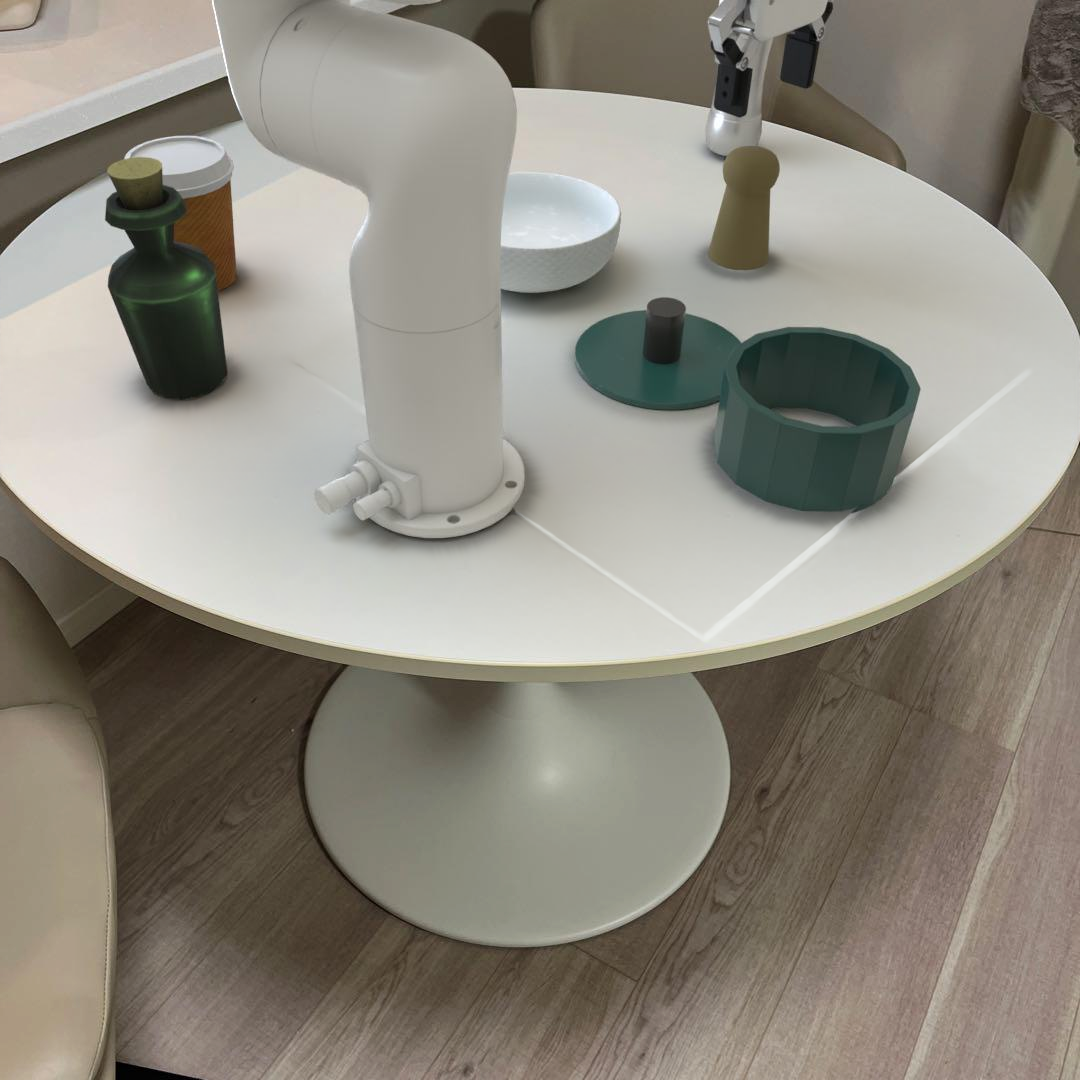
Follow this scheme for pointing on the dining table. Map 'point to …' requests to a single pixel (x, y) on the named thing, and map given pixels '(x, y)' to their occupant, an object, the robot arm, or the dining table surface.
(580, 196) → the cereal bowl
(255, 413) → the dining table surface
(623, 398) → the lid
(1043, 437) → the dining table surface
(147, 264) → the potion bottle
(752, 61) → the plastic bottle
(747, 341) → the pot
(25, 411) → the dining table surface
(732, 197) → the olive brown pawn
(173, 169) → the disposable coffee cup
